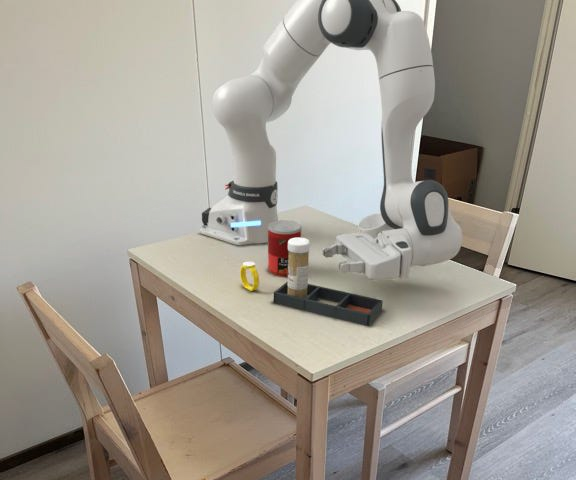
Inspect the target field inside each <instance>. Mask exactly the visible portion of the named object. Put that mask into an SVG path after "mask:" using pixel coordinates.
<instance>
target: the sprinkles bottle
mask: <svg viewBox="0 0 576 480" xmlns="http://www.w3.org/2000/svg"><path fill="white" fill-rule="evenodd" d="M310 251H311V242H310V240H309V239H308V238H305V237H301V238H300V237H297V238H292V239H290V240H289V241H288V252H289V259H288V276H287V281H288V295H292V296H296V297H300V298H306V297H307V296H308V295H307V286H308V284H309V267H310V266H309V264H310V263H309V258H310V257H309V254H310V253H309V252H310Z"/></svg>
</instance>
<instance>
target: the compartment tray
mask: <svg viewBox="0 0 576 480" xmlns="http://www.w3.org/2000/svg"><path fill="white" fill-rule="evenodd" d="M319 299H322V300H328V301H331V302H335V303H337V304H336V305H334V304H329V303H326V302H321V301H318V300H319ZM383 303H384V300H383V299H378V298H375V297H371V296H370V297H369V296H366V295H361V294H357V293H351V292H347V291H342V290H337V289H334V288H329V287H325V286H320V285H316V284H311V283H308V286H307V297H306V298H300V297H296V296H292V295H288V280H287V281H286V282H285V283H284V284H283V285H281V286H280V287H278V288H277V289H276V290H275V291H274V292H273V304H277V305H281V306H285V307H288V308H291V309H298V310H301V311H305V312H308V313H314V314H317V315H322V316H325V317H329V318H333V319H339V320H342V321H346V322H351V323H355V324H358V325H362V326H368V327H370V325H371V324H372V323H373V322H374V320H375V319H377V317H378V316H379V314H381V312H382V311H383Z"/></svg>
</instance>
